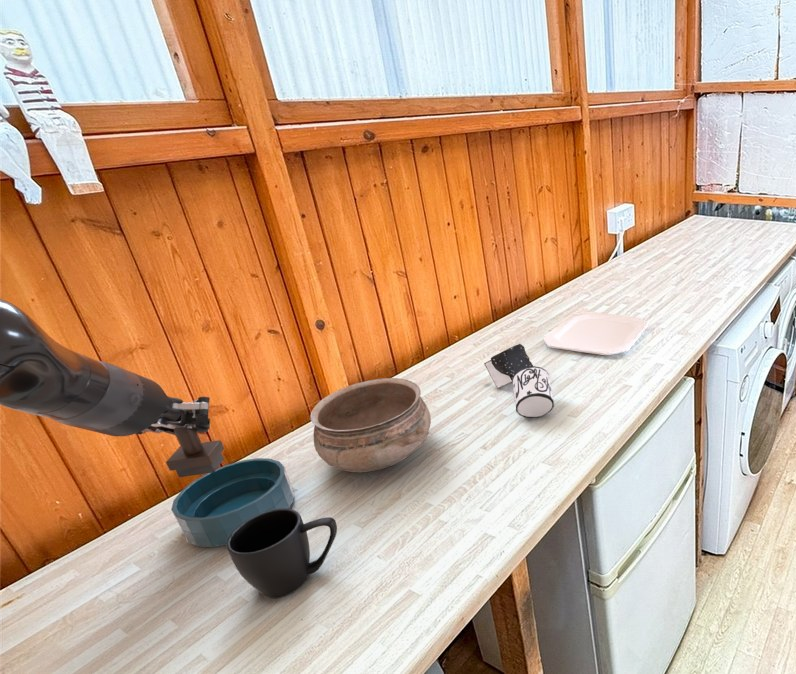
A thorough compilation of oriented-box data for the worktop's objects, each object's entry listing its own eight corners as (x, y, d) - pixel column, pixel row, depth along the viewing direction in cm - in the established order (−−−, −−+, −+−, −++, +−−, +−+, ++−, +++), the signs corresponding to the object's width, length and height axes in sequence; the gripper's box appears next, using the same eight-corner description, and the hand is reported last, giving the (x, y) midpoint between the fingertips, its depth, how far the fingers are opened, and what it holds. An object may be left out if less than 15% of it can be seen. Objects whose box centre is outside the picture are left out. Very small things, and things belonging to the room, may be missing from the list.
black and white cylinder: (568, 415, 109) (564, 374, 105) (523, 431, 104) (517, 388, 100) (523, 368, 128) (518, 332, 124) (483, 380, 123) (477, 342, 119)
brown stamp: (174, 480, 75) (144, 419, 70) (188, 462, 78) (160, 404, 74) (216, 473, 76) (189, 413, 72) (228, 457, 80) (203, 398, 75)
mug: (343, 590, 71) (324, 538, 67) (240, 615, 67) (214, 562, 63) (354, 545, 78) (338, 496, 74) (262, 565, 75) (239, 515, 71)
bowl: (167, 559, 76) (150, 529, 73) (213, 494, 88) (200, 466, 86) (277, 539, 79) (264, 509, 77) (306, 479, 92) (296, 452, 89)
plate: (623, 362, 131) (623, 355, 130) (536, 350, 138) (535, 342, 137) (652, 325, 152) (652, 318, 151) (576, 316, 159) (575, 309, 158)
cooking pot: (470, 444, 100) (460, 390, 95) (392, 509, 85) (375, 448, 79) (375, 417, 109) (361, 366, 104) (288, 472, 93) (267, 415, 88)
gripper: (176, 360, 64) (249, 396, 79) (35, 375, 60) (141, 409, 76) (169, 420, 61) (246, 444, 77) (22, 439, 58) (134, 460, 74)
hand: (194, 427), depth 76 cm, fingers closed on brown stamp, 2 cm apart
